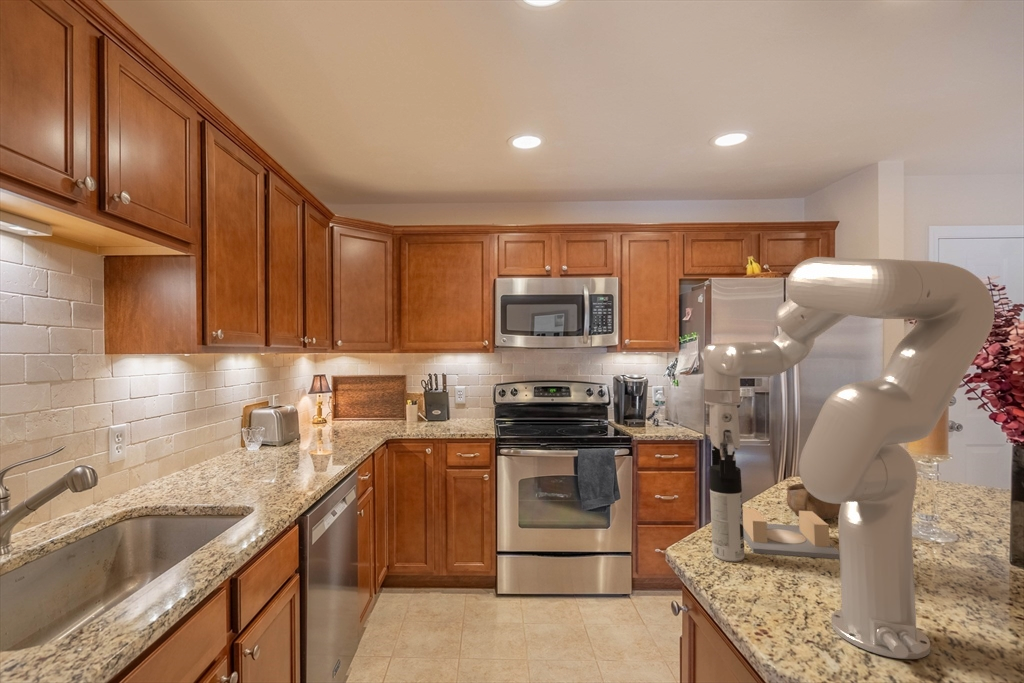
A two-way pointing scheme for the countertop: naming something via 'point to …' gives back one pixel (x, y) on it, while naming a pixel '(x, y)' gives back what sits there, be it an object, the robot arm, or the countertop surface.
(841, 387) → the robot arm
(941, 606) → the countertop surface
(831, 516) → the bowl
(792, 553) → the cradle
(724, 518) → the spray can
